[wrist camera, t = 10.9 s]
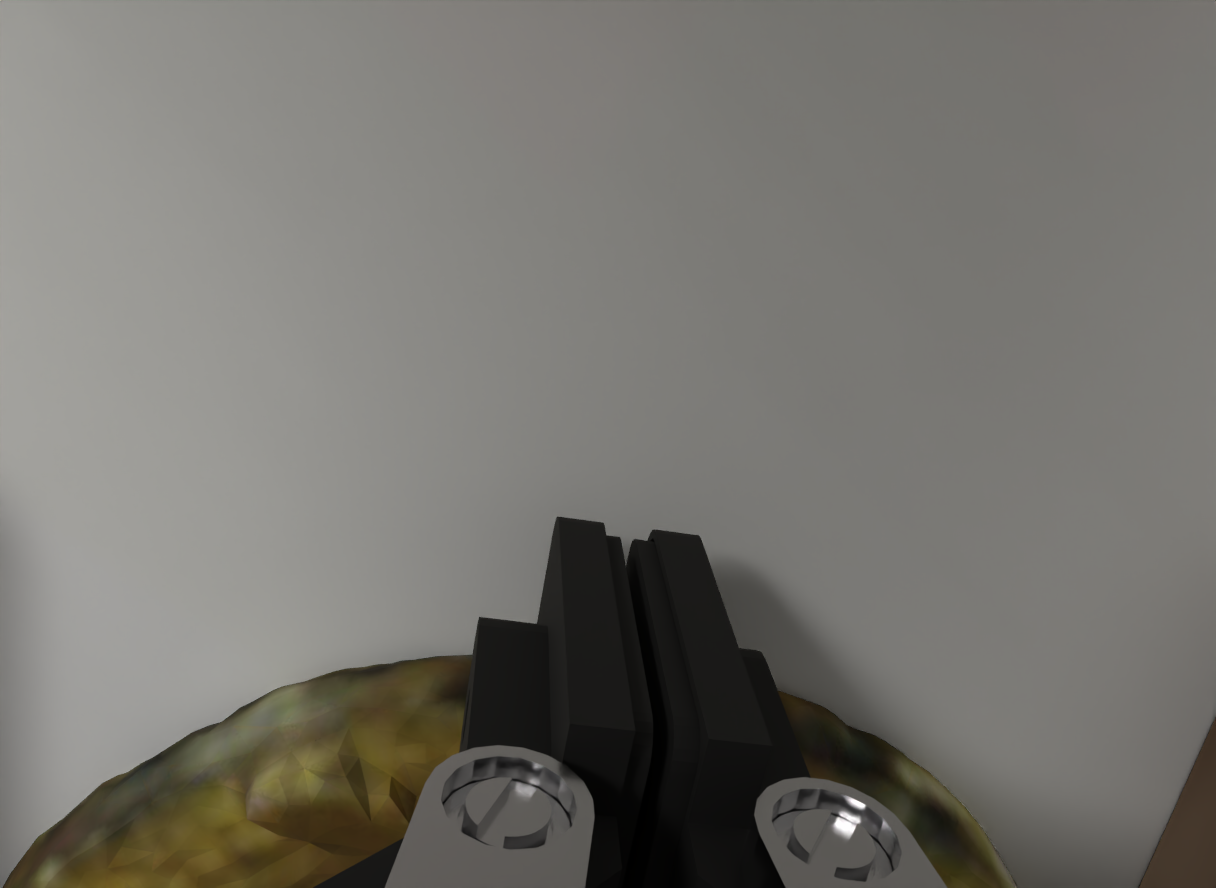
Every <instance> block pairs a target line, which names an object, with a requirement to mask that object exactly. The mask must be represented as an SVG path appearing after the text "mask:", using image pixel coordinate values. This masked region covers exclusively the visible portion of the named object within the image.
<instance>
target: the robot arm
mask: <svg viewBox="0 0 1216 888" xmlns="http://www.w3.org/2000/svg"><path fill="white" fill-rule="evenodd" d="M313 888H947V886H946V885H945V883H944V882H943V880H942V879H941V877H940V876H939V874H938V873H937V872H936V870H935V869H934V867H933V866H932V864H931V863H930V861H929V860H928V858H927V857H926V855H925V854H924V852H923V851H922V849H921V848H920V846H919V845H918V843H917V842H916V840H915V839H914V837H913V836H912V834H911V833H910V831H909V830H908V829H907V828H906V827H905V826H904V824H903V823H902V822H901V821H900V820H899V819H898V818H897V816H896V815H895V814H894V813H892V812H891V811H890V810H888V809H887V808H886V807H885V806H883V805H882V804H881V803H879V802H878V801H877V800H875V799H874V798H872V797H870V796H868V795H866V794H864V793H862V792H860V791H858V790H856V789H854V788H852V787H849V786H846V785H843V784H839V783H836V782H833V781H830V780H825V779H816V778H811V777H810V774H809V771H808V769H807V766H806V764H805V761H804V758H803V756H802V753H801V751H800V748H799V745H798V743H797V740H796V737H795V735H794V732H793V730H792V727H791V724H790V722H789V719H788V717H787V714H786V711H785V709H784V706H783V704H782V701H781V698H780V696H779V693H778V691H777V688H776V685H775V683H774V680H773V678H772V675H771V672H770V670H769V667H768V664H767V662H766V659H765V658H764V656H763V654H762V653H761V652H760V651H757V650H749V649H741V648H739V647H738V644H737V642H736V639H735V636H734V633H733V630H732V627H731V624H730V621H729V618H728V616H727V613H726V610H725V607H724V604H723V601H722V598H721V595H720V592H719V590H718V587H717V584H716V581H715V578H714V575H713V572H712V569H711V566H710V563H709V561H708V558H707V555H706V552H705V549H704V546H703V543H702V540H701V538H700V536H699V535H691V534H684V533H676V532H669V531H661V530H652V531H651V533H650V535H649V538H648V541H644V540H637V539H634V540H633V541H632V544H631V547H630V551H629V555H628V560H627V565H625V560H624V554H623V549H622V543H621V539H620V537H614V536H607V535H606V532H605V526H604V523H601V522H594V521H586V520H579V519H572V518H564V517H557V519H556V522H555V526H554V531H553V536H552V541H551V547H550V553H549V558H548V564H547V570H546V575H545V581H544V587H543V593H542V598H541V604H540V610H539V615H538V621H537V624H533V623H525V622H516V621H508V620H500V619H491V618H483V617H479V620H478V625H477V631H476V637H475V643H474V650H473V656H472V663H471V669H470V676H469V683H468V689H467V696H466V703H465V710H464V718H463V725H462V733H461V741H460V750H459V753H457V754H454V755H452V756H451V757H449V758H448V759H446V760H445V761H444V762H442V763H441V764H439V765H438V766H437V767H435V769H434V770H433V772H432V773H431V775H430V776H429V778H428V779H427V781H426V782H425V785H424V787H423V790H422V792H421V795H420V797H419V800H418V803H417V805H416V808H415V810H414V813H413V816H412V818H411V821H410V823H409V826H408V829H407V831H406V834H405V836H404V838H402V839H400V840H399V841H397V842H395V843H393V844H391V845H389V846H388V847H386V848H384V849H382V850H380V851H378V852H377V853H375V854H373V855H371V856H369V857H368V858H366V859H364V860H362V861H360V862H358V863H357V864H355V865H353V866H351V867H349V868H347V869H346V870H344V871H342V872H340V873H338V874H337V875H335V876H333V877H331V878H329V879H327V880H326V881H324V882H322V883H320V884H318V885H316V886H315V887H313Z"/></svg>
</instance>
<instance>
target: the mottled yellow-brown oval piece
mask: <svg viewBox="0 0 1216 888" xmlns="http://www.w3.org/2000/svg"><path fill="white" fill-rule="evenodd" d="M472 656H473V655H460V656H437V657H430V658H423V659H417V660H405V661H399V662H396V663H392V664H378V665H372V666H367V667H360V668H348V669H343V670H339V671H335V672H331V673H328V674H325V675H322V676H319V677H316V678H313V679H311V680H308V681H305V682H301V683H296V684H292V685H287V686H283V687H280V688H278V689H275V690H273V691H271V692H269V693H268V694H266V695H264V696H262V697H260V698H259V699H257V700H255V701H253V702H251V703H249V704H247V705H245V706H243V707H241V708H239V709H238V710H237V711H236V712H234V713H233V714H232V715H230V716H229V717H228V718H226V719H225V720H224V721H223V722H220V723H217V724H213V725H210V726H207V727H205V728H202V729H200V730H197V731H195V732H192V733H191V734H189V735H188V736H186V737H185V738H183V739H181V740H180V741H178V742H177V743H175V744H174V745H172V746H171V747H169V748H167V749H166V750H164V751H163V752H161V753H160V754H158V755H156V756H155V757H153V758H151V759H149V760H147V761H145V762H143V763H141V764H140V765H138V766H137V767H135V768H134V769H132V770H131V771H129V772H127V773H124V774H121V775H118V776H116V777H114V778H112V779H110V780H108V781H106V782H104V783H102V784H101V785H100V786H99V787H98V788H97V789H96V790H94V791H93V792H92V793H91V794H90V795H89V796H88V797H87V798H86V799H84V800H83V801H82V802H81V803H80V804H79V805H78V806H77V807H76V808H74V809H73V810H72V811H71V812H70V813H69V814H68V815H67V816H66V817H64V818H63V819H62V820H61V821H59V822H58V823H57V824H55V825H54V826H53V827H51V828H50V829H48V830H47V831H46V832H44V833H43V834H42V835H40V836H39V837H38V838H37V839H36V840H35V842H34V843H33V844H32V846H31V847H30V848H29V850H28V851H27V852H26V854H25V855H24V856H23V858H22V859H21V860H20V862H19V863H18V864H17V866H16V867H15V868H14V870H13V871H12V872H11V874H10V875H9V877H8V879H7V881H6V883H5V884H4V886H3V888H313V887H315V886H316V885H318V884H320V883H322V882H324V881H326V880H327V879H329V878H331V877H333V876H335V875H337V874H338V873H340V872H342V871H344V870H346V869H347V868H349V867H351V866H353V865H355V864H357V863H358V862H360V861H362V860H364V859H366V858H368V857H369V856H371V855H373V854H375V853H377V852H378V851H380V850H382V849H384V848H386V847H388V846H389V845H391V844H393V843H395V842H397V841H399V840H400V839H402V838H404V836H405V834H406V831H407V829H408V826H409V823H410V821H411V818H412V816H413V813H414V810H415V808H416V805H417V803H418V800H419V797H420V795H421V792H422V790H423V787H424V785H425V782H426V781H427V779H428V778H429V776H430V775H431V773H432V772H433V770H434V769H435V767H437V766H438V765H439V764H441V763H442V762H444V761H445V760H446V759H448V758H449V757H451V756H452V755H454V754H457V753H459V750H460V741H461V733H462V725H463V718H464V710H465V703H466V696H467V689H468V683H469V676H470V669H471V663H472ZM778 693H779V696H780V698H781V701H782V704H783V706H784V709H785V711H786V714H787V717H788V719H789V722H790V724H791V727H792V730H793V732H794V735H795V737H796V740H797V743H798V745H799V748H800V751H801V753H802V756H803V758H804V761H805V764H806V766H807V769H808V771H809V774H810V777H811V778H816V779H825V780H830V781H833V782H836V783H839V784H843V785H846V786H849V787H852V788H854V789H856V790H858V791H860V792H862V793H864V794H866V795H868V796H870V797H872V798H874V799H875V800H877V801H878V802H879V803H881V804H882V805H883V806H885V807H886V808H887V809H888V810H890V811H891V812H892V813H894V814H895V815H896V816H897V818H898V819H899V820H900V821H901V822H902V823H903V824H904V826H905V827H906V828H907V829H908V830H909V831H910V833H911V834H912V836H913V837H914V839H915V840H916V842H917V843H918V845H919V846H920V848H921V849H922V851H923V852H924V854H925V855H926V857H927V858H928V860H929V861H930V863H931V864H932V866H933V867H934V869H935V870H936V872H937V873H938V874H939V876H940V877H941V879H942V880H943V882H944V883H945V885H946V886H947V888H1017V887H1016V885H1015V883H1014V881H1013V879H1012V877H1011V875H1010V874H1009V872H1008V870H1007V869H1006V867H1005V865H1004V863H1003V861H1002V860H1001V858H1000V856H999V855H998V853H997V851H996V850H995V848H994V847H993V845H992V844H991V842H990V840H989V839H988V837H987V836H986V834H985V832H984V831H983V829H982V828H981V827H980V825H979V824H978V823H977V822H976V820H975V819H974V818H973V817H972V816H971V814H970V813H969V812H968V811H967V809H966V808H965V807H964V806H963V805H962V804H961V803H960V802H959V801H958V800H957V799H956V798H955V797H954V796H953V795H952V794H951V793H950V791H949V790H948V789H947V788H946V787H945V786H943V785H942V784H941V783H940V782H939V781H938V780H937V779H936V778H934V777H933V776H932V775H931V774H930V773H929V772H928V771H927V770H925V769H924V768H922V767H920V766H919V765H917V764H916V763H914V762H913V761H911V760H909V759H908V758H907V757H906V756H905V755H904V754H903V753H902V752H900V751H899V750H897V749H896V748H894V747H892V746H891V745H889V744H888V743H887V742H885V741H884V740H882V739H880V738H878V737H876V736H874V735H872V734H869V733H866V732H863V731H860V730H857V729H854V728H852V727H850V726H848V725H846V724H845V723H844V722H843V721H842V720H840V719H839V718H838V717H837V716H836V715H835V714H833V713H832V712H830V711H829V710H828V709H826V708H824V707H822V706H820V705H817V704H814V703H811V702H809V701H806V700H804V699H801V698H798V697H794V696H792V695H789V694H786V693H784V692H781V691H778Z"/></svg>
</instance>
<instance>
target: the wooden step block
mask: <svg viewBox="0 0 1216 888" xmlns="http://www.w3.org/2000/svg"><path fill="white" fill-rule="evenodd" d="M1139 888H1216V718H1215V720H1214V722H1213V725H1212V727H1211V729H1210V731H1209V733H1208V736H1207V738H1206V740H1205V742H1204V745H1203V747H1202V749H1201V751H1200V753H1199V756H1198V758H1197V760H1196V762H1195V764H1194V767H1193V769H1192V771H1191V773H1190V776H1189V778H1188V780H1187V782H1186V784H1185V787H1184V789H1183V791H1182V793H1181V795H1180V798H1179V800H1178V802H1177V804H1176V807H1175V809H1174V811H1173V813H1172V815H1171V818H1170V820H1169V822H1168V824H1167V826H1166V829H1165V831H1164V833H1163V835H1162V838H1161V840H1160V842H1159V844H1158V846H1157V849H1156V851H1155V853H1154V855H1153V858H1152V860H1151V862H1150V864H1149V866H1148V869H1147V871H1146V873H1145V875H1144V877H1143V880H1142V882H1141V884H1140V886H1139Z"/></svg>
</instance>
